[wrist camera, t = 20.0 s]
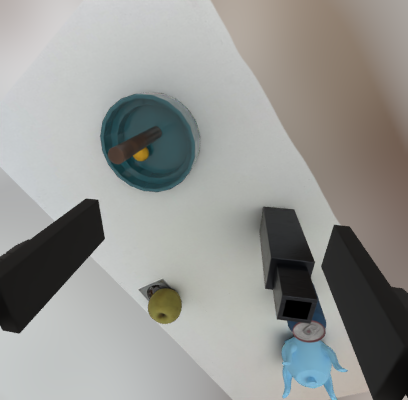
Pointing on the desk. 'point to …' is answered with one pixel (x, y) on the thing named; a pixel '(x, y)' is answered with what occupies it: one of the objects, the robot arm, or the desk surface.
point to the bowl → (158, 150)
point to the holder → (287, 265)
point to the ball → (142, 155)
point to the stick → (133, 145)
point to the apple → (165, 306)
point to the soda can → (310, 326)
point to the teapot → (309, 365)
